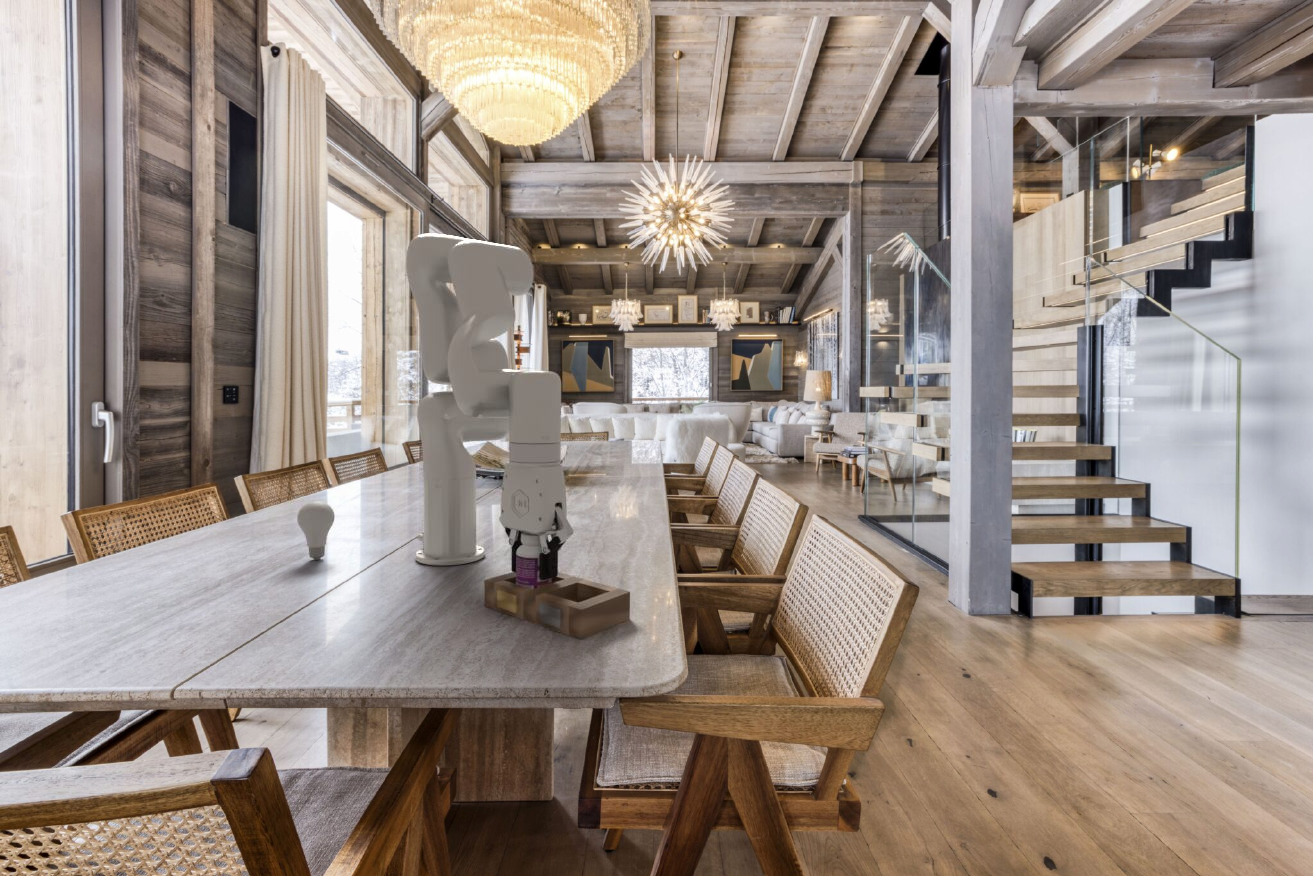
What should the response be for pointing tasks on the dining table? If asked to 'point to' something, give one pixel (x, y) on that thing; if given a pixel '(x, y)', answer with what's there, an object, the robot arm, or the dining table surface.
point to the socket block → (560, 603)
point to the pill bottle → (529, 562)
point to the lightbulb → (316, 526)
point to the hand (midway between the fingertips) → (534, 572)
